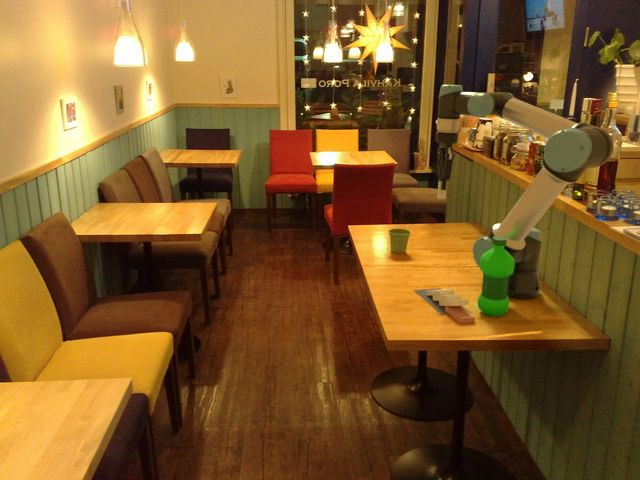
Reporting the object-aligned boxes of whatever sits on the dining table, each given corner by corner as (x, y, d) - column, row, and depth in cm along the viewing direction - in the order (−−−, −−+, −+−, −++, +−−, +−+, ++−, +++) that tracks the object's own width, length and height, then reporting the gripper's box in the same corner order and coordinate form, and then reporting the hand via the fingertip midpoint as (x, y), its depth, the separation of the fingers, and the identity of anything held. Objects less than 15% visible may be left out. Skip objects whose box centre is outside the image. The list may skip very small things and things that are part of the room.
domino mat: (413, 291, 207) (413, 290, 207) (439, 289, 210) (440, 288, 210) (441, 317, 187) (441, 315, 187) (470, 314, 190) (471, 312, 189)
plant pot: (411, 255, 247) (412, 234, 245) (387, 254, 248) (389, 234, 245) (408, 248, 256) (409, 228, 254) (385, 247, 257) (387, 228, 254)
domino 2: (432, 295, 199) (446, 295, 189) (446, 294, 200) (460, 294, 190) (432, 300, 198) (446, 300, 189) (446, 299, 200) (461, 299, 190)
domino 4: (444, 305, 190) (459, 318, 181) (459, 304, 191) (475, 317, 182) (444, 310, 191) (459, 323, 181) (458, 309, 192) (474, 322, 183)
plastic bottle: (487, 323, 184) (494, 245, 176) (469, 308, 194) (475, 234, 186) (516, 318, 187) (524, 241, 179) (496, 304, 197) (504, 231, 189)
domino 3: (438, 300, 194) (453, 300, 184) (453, 299, 195) (468, 299, 186) (439, 305, 194) (454, 306, 184) (453, 304, 195) (468, 304, 186)
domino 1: (426, 290, 203) (439, 290, 193) (440, 289, 204) (453, 289, 195) (426, 295, 203) (440, 295, 193) (440, 294, 204) (454, 294, 194)
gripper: (431, 128, 214) (426, 194, 221) (442, 133, 202) (436, 202, 208) (452, 129, 215) (446, 194, 221) (464, 133, 202) (457, 202, 209)
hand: (441, 198), depth 215 cm, fingers closed
